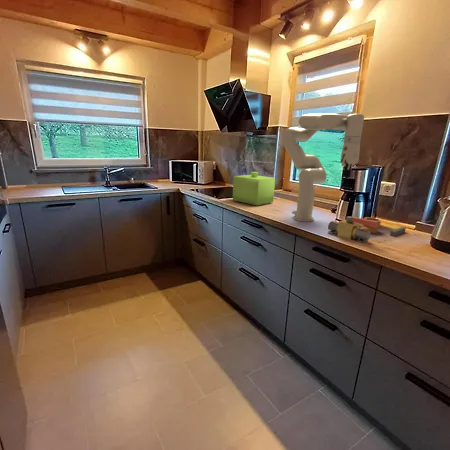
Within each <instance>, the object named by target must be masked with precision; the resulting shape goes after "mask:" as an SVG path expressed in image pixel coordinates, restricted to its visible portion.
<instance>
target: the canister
mask: <svg viewBox="0 0 450 450" xmlns="http://www.w3.org/2000/svg"><path fill="white" fill-rule="evenodd" d="M275 185H276V178H275V177H271V176H265V175H264V176H262V175H259V172H257V171H250V174H244V175H234V176H233V181H232V186H233V187H232V201H234V202H239V203H244V204H249V205H252V206H260V205H265V204H269V203H270V204H271V203H273V202H274V197H275V196H274V195H275Z"/></svg>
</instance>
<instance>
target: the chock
mask: <svg viewBox="0 0 450 450" xmlns="http://www.w3.org/2000/svg"><path fill="white" fill-rule="evenodd" d="M406 229H407V228H406V227H404V226H401V227H397V228H395V229H392V230H390V233H389V234H390V235H389V236H391V237H396V236H399V235H402V234H404V233H405V232H406Z"/></svg>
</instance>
